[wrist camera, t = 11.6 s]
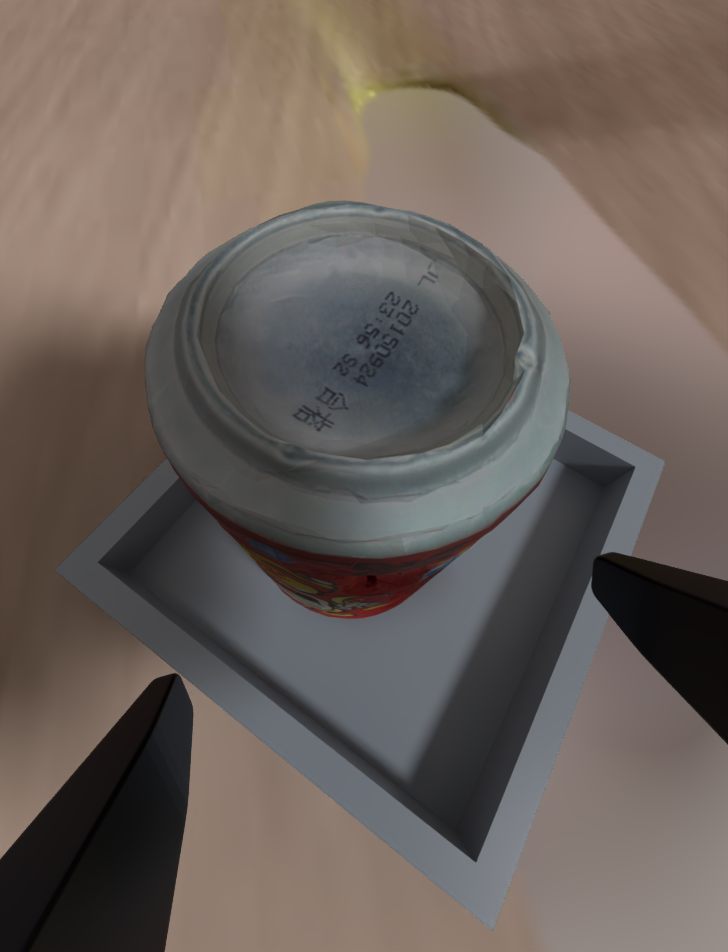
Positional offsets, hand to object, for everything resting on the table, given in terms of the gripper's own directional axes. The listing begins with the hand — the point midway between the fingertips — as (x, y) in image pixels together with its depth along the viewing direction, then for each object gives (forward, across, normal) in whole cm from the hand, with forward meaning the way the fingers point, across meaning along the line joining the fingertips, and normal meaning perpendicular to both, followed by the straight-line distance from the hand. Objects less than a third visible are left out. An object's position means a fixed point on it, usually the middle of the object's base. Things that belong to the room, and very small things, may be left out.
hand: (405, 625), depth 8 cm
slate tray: (+9, -2, +3) cm, 10 cm away
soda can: (+9, 0, +3) cm, 9 cm away
